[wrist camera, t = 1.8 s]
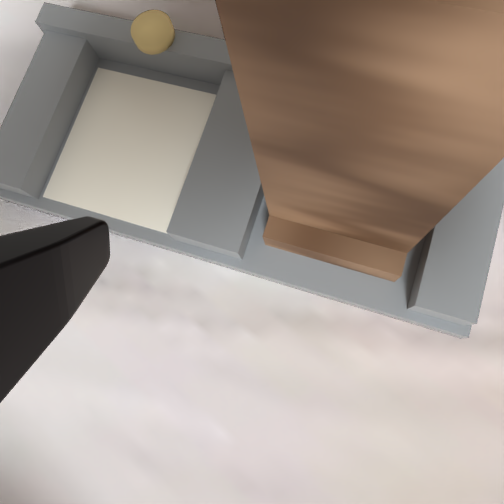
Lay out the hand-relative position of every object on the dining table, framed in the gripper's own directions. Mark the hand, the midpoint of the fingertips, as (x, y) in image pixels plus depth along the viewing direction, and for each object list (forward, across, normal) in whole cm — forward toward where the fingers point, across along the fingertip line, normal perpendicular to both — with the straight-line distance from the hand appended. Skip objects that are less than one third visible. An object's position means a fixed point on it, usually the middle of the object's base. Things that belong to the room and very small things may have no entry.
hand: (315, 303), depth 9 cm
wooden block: (+13, 0, +4) cm, 13 cm away
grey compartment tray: (+13, +6, +4) cm, 15 cm away
